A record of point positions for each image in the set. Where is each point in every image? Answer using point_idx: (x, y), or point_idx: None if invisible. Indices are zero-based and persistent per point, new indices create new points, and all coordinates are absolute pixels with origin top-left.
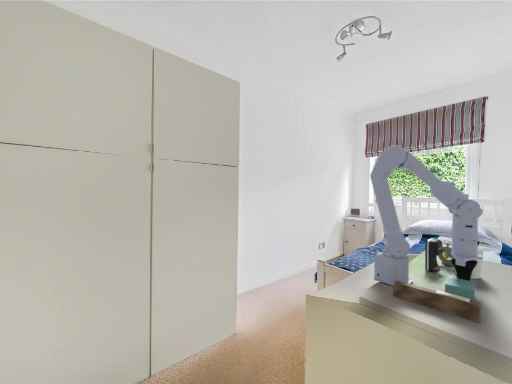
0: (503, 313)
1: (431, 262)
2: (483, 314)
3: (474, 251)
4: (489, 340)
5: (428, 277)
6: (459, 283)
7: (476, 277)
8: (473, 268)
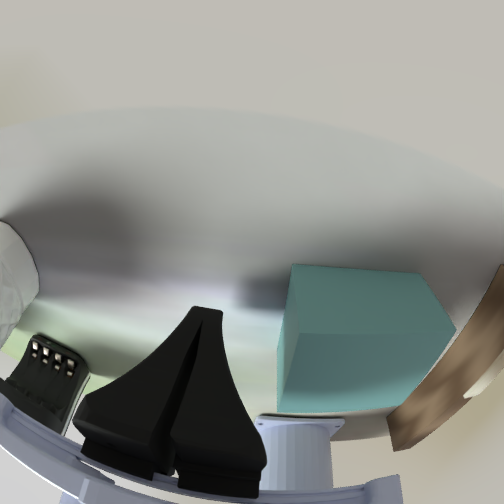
0: (444, 175)
1: (64, 388)
2: (473, 251)
3: None
4: None
5: None
6: (375, 380)
7: (14, 238)
8: (253, 426)
